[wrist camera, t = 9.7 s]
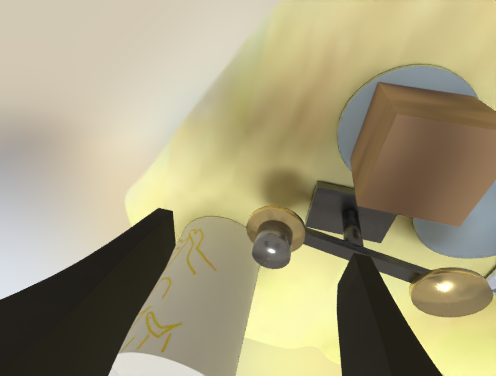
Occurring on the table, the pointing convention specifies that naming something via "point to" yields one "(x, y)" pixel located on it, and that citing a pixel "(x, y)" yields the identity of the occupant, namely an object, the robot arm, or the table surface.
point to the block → (424, 153)
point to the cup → (195, 306)
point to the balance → (361, 249)
